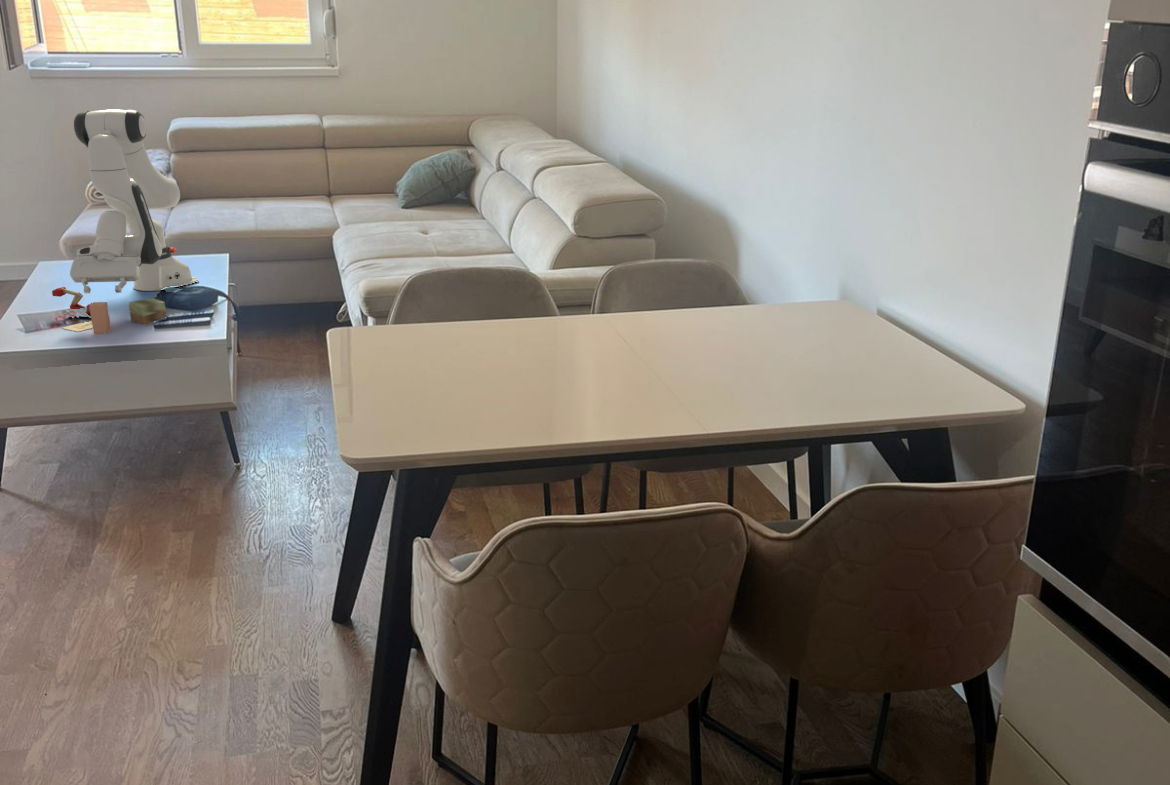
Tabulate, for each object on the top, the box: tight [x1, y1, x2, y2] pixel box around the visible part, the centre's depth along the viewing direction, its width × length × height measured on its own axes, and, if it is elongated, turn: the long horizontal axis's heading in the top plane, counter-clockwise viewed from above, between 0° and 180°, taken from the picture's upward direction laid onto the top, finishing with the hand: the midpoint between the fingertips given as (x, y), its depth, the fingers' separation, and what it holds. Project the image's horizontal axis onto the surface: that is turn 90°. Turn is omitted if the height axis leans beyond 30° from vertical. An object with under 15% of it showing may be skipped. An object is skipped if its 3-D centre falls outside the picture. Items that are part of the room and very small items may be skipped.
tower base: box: [128, 297, 168, 326], centre depth 344 cm, size 8×8×6 cm
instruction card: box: [62, 320, 93, 333], centre depth 338 cm, size 10×8×1 cm
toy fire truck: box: [51, 286, 93, 317], centre depth 347 cm, size 3×14×10 cm, turn 84°
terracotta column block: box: [89, 301, 112, 335], centre depth 331 cm, size 4×4×9 cm
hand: (102, 292), depth 334 cm, fingers open, 8 cm apart
